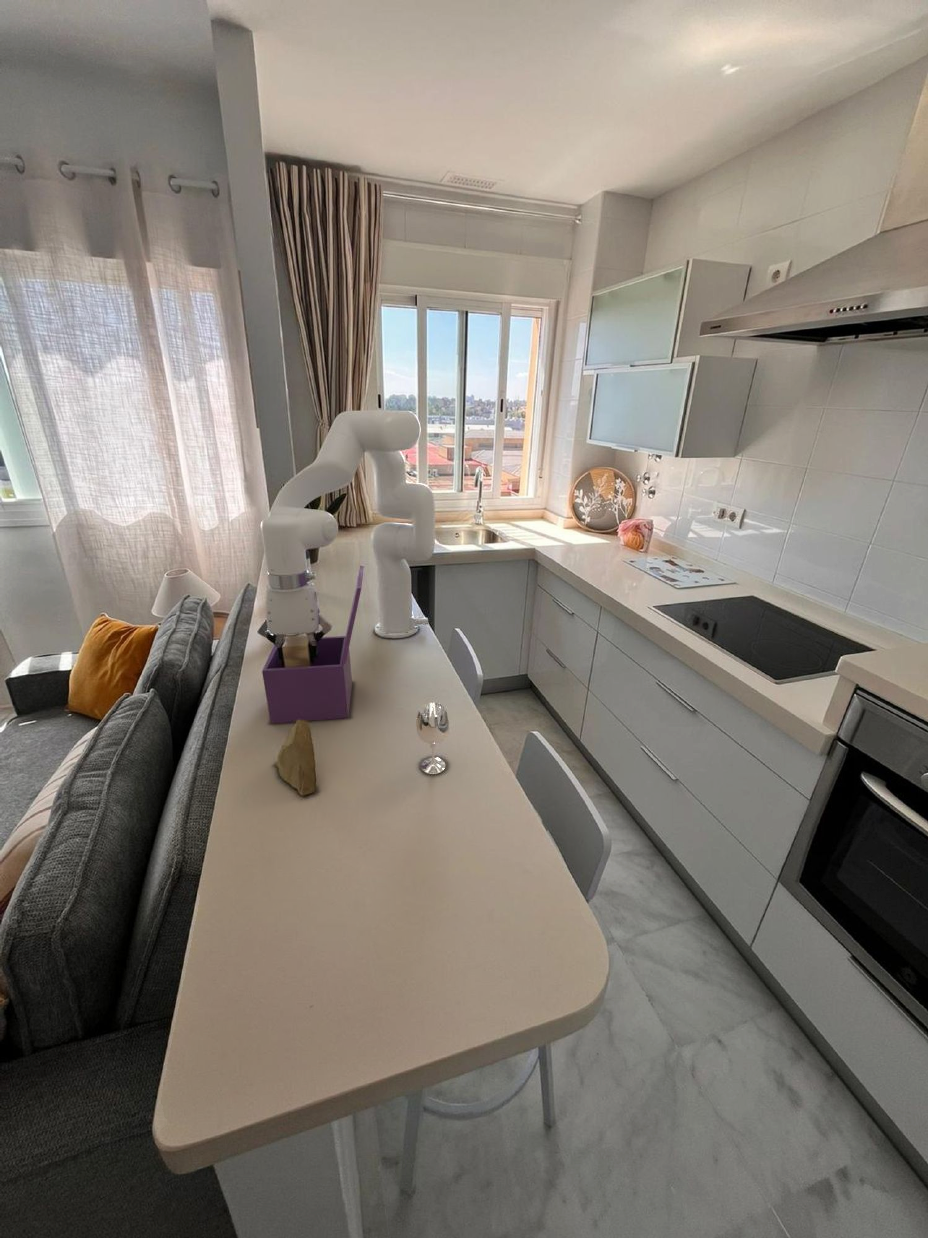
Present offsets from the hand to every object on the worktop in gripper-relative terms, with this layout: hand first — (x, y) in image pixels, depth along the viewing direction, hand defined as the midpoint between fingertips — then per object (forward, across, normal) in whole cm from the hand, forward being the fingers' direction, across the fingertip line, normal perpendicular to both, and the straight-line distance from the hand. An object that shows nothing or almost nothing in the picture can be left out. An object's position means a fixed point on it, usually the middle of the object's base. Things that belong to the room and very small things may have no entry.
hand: (299, 660), depth 105 cm
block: (0, 0, 0) cm, 0 cm away
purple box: (+11, -2, 0) cm, 11 cm away
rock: (+11, -2, +25) cm, 27 cm away
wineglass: (+11, -26, +25) cm, 38 cm away
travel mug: (+11, +11, -72) cm, 74 cm away
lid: (-10, -12, 0) cm, 15 cm away
